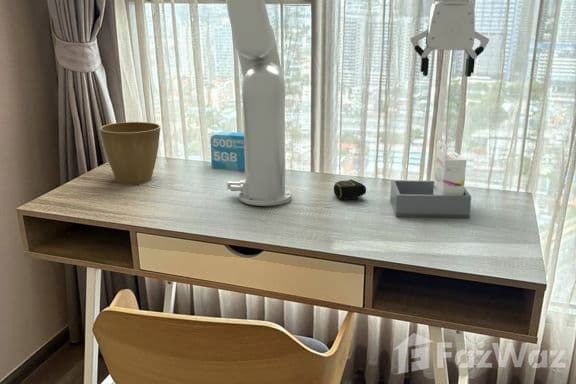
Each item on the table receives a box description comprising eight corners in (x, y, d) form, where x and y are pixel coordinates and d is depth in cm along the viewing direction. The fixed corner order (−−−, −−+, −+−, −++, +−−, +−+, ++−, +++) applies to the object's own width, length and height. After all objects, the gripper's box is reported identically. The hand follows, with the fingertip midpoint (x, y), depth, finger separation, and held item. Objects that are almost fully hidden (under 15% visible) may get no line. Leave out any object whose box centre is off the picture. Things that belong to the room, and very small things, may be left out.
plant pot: (93, 192, 154) (87, 130, 150) (125, 178, 168) (120, 120, 163) (145, 196, 150) (141, 133, 145) (173, 181, 164) (170, 123, 159)
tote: (395, 216, 134) (396, 195, 133) (390, 200, 146) (391, 180, 145) (469, 218, 133) (471, 196, 132) (457, 201, 145) (459, 181, 144)
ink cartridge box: (463, 211, 135) (468, 146, 131) (441, 211, 135) (446, 146, 131) (452, 200, 143) (457, 138, 139) (432, 200, 143) (435, 139, 139)
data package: (211, 176, 169) (209, 134, 165) (217, 172, 173) (216, 131, 170) (252, 179, 165) (251, 136, 162) (257, 175, 170) (256, 133, 166)
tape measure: (367, 198, 145) (367, 183, 144) (342, 203, 143) (341, 188, 142) (354, 191, 152) (353, 177, 150) (329, 196, 149) (328, 182, 148)
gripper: (415, -4, 131) (410, 76, 136) (497, -3, 130) (488, 78, 135) (411, -3, 138) (406, 73, 143) (488, -2, 137) (481, 75, 142)
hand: (446, 75), depth 139 cm, fingers open, 9 cm apart
